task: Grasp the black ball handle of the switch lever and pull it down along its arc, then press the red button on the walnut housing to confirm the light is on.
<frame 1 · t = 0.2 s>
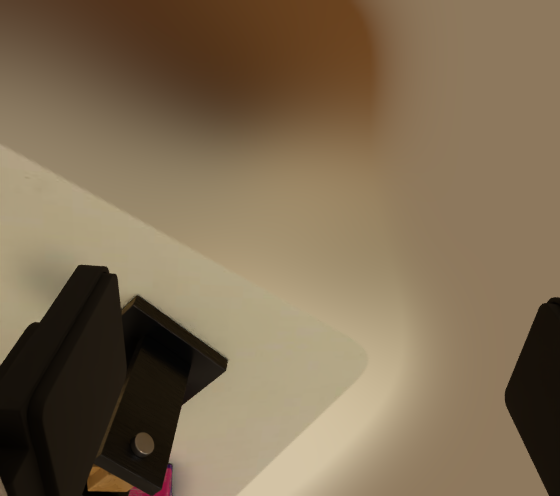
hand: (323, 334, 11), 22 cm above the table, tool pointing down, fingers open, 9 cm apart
switch bracket: (152, 356, 41), on the table
supplement box: (145, 478, 49), on the table
switch lever: (37, 460, 29), point 12 cm above the table, hinge at 25.0°
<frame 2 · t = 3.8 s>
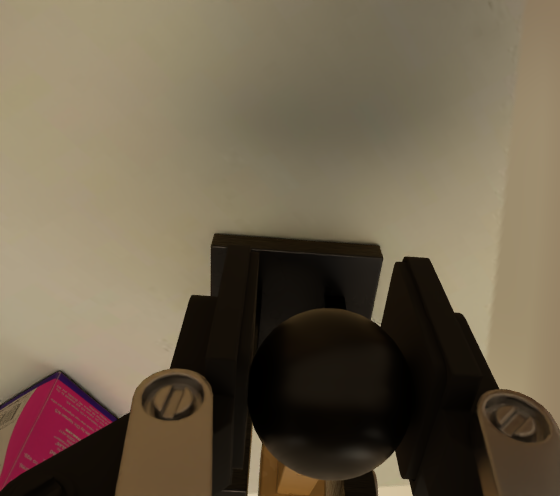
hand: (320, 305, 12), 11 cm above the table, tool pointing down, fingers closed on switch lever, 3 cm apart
switch bracket: (289, 313, 27), on the table
supplement box: (65, 415, 31), on the table
switch lever: (304, 451, 14), point 12 cm above the table, hinge at 25.0°, touching gripper
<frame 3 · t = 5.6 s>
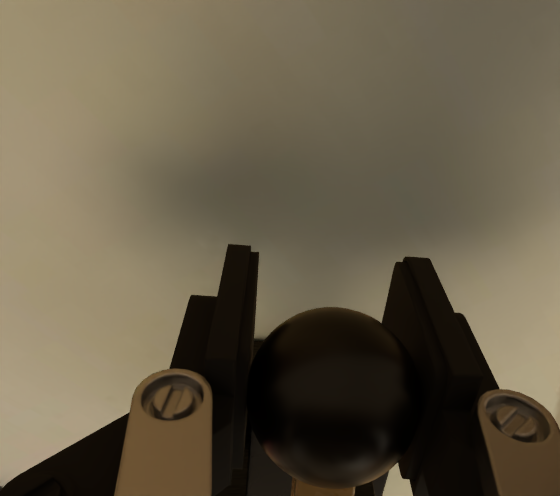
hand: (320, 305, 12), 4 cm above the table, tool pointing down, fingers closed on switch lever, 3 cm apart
switch bracket: (289, 427, 21), on the table
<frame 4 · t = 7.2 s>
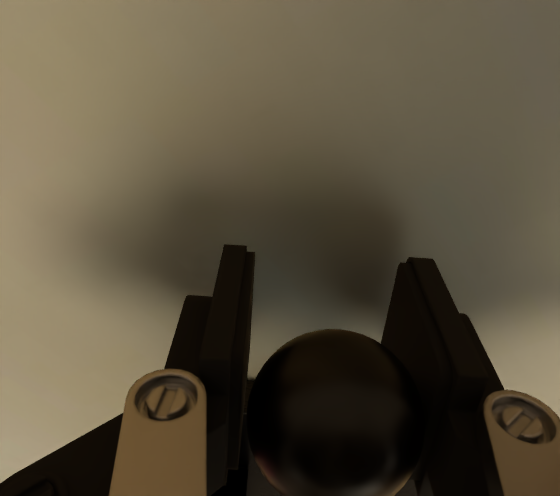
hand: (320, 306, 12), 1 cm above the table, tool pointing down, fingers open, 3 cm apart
switch bracket: (292, 479, 17), on the table
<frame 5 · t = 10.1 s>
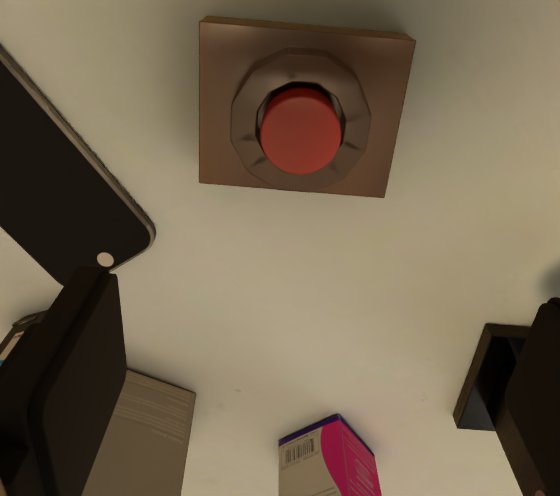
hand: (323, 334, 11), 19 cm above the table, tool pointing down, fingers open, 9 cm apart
confirm button: (300, 131, 23), point 4 cm above the table, slide at 0.1 cm
switch bracket: (522, 376, 37), on the table
supplement box: (327, 445, 41), on the table
cosmetic box: (138, 396, 39), on the table
button box: (298, 105, 27), on the table
smartphone: (31, 169, 29), on the table
ink cartridge: (58, 318, 35), on the table
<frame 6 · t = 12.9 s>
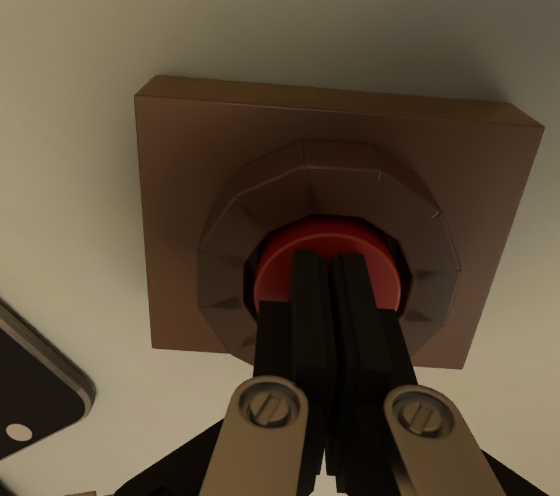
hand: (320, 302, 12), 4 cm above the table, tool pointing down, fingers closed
confirm button: (325, 278, 13), point 4 cm above the table, slide at -0.9 cm, touching gripper
button box: (318, 217, 16), on the table
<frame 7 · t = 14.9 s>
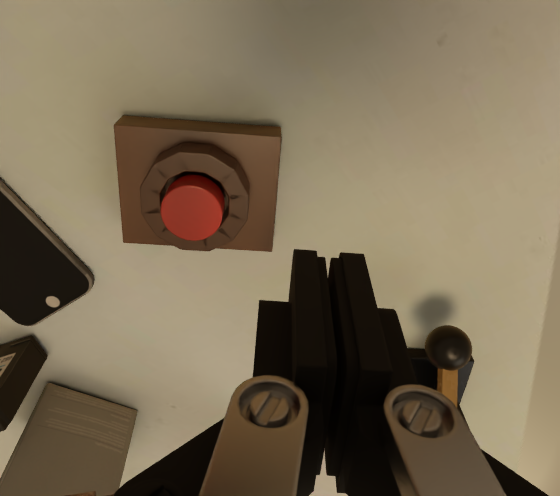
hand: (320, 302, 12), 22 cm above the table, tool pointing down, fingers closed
confirm button: (193, 207, 30), point 4 cm above the table, slide at 0.1 cm
switch bracket: (410, 389, 44), on the table
cosmetic box: (88, 414, 45), on the table
button box: (202, 179, 34), on the table
ink cartridge: (16, 350, 42), on the table
switch lever: (446, 418, 36), point 7 cm above the table, hinge at -35.5°
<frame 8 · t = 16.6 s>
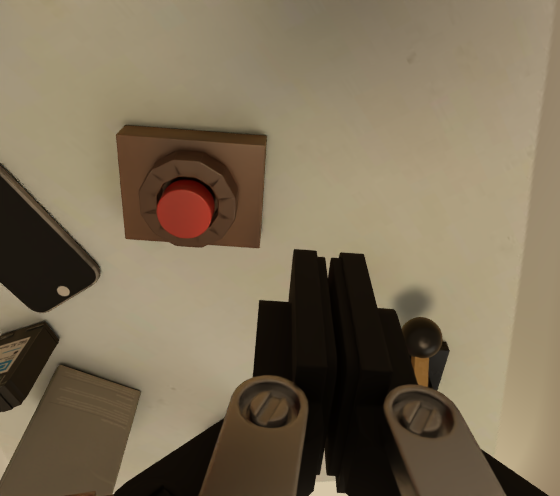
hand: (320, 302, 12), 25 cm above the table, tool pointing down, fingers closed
confirm button: (186, 209, 34), point 4 cm above the table, slide at 0.1 cm
switch bracket: (392, 376, 47), on the table
cosmetic box: (96, 394, 49), on the table
button box: (196, 182, 38), on the table
smartphone: (6, 227, 40), on the table
ink cartridge: (31, 334, 46), on the table
switch lever: (418, 402, 39), point 7 cm above the table, hinge at -35.5°
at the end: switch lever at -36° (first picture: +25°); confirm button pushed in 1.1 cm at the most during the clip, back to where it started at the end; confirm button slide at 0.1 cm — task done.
